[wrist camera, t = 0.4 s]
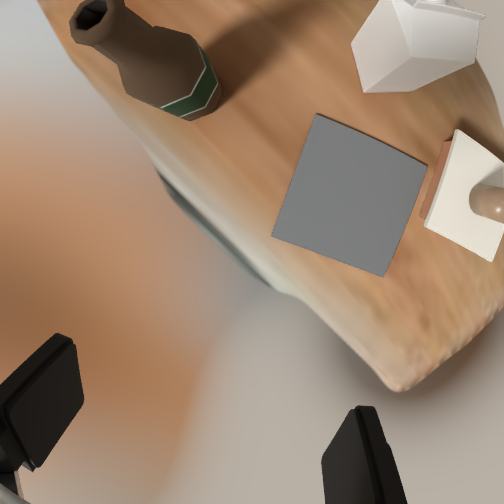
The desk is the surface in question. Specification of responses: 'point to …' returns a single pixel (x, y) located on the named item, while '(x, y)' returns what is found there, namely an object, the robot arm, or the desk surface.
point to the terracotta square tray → (435, 179)
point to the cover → (470, 198)
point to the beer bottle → (150, 58)
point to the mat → (349, 197)
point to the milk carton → (414, 43)
